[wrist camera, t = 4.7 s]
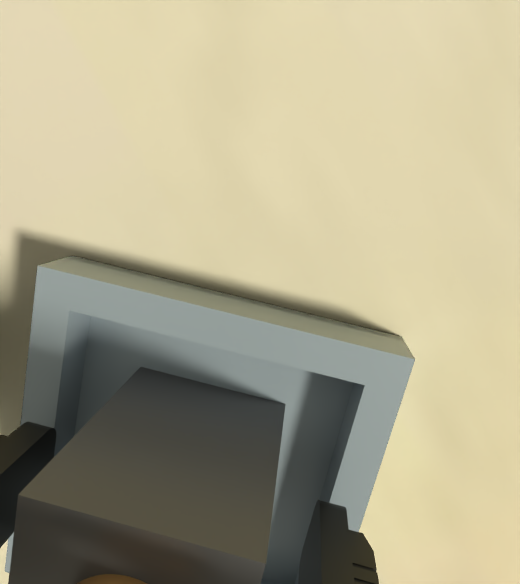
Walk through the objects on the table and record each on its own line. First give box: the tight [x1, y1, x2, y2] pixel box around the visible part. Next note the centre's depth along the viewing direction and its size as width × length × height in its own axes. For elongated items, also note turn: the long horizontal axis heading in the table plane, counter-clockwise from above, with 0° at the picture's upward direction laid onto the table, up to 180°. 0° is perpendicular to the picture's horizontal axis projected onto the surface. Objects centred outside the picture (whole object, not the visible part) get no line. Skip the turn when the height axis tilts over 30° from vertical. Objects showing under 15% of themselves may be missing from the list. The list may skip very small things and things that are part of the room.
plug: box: [8, 367, 286, 584], centre depth 10 cm, size 4×4×8 cm
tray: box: [5, 256, 415, 584], centre depth 14 cm, size 10×10×2 cm
